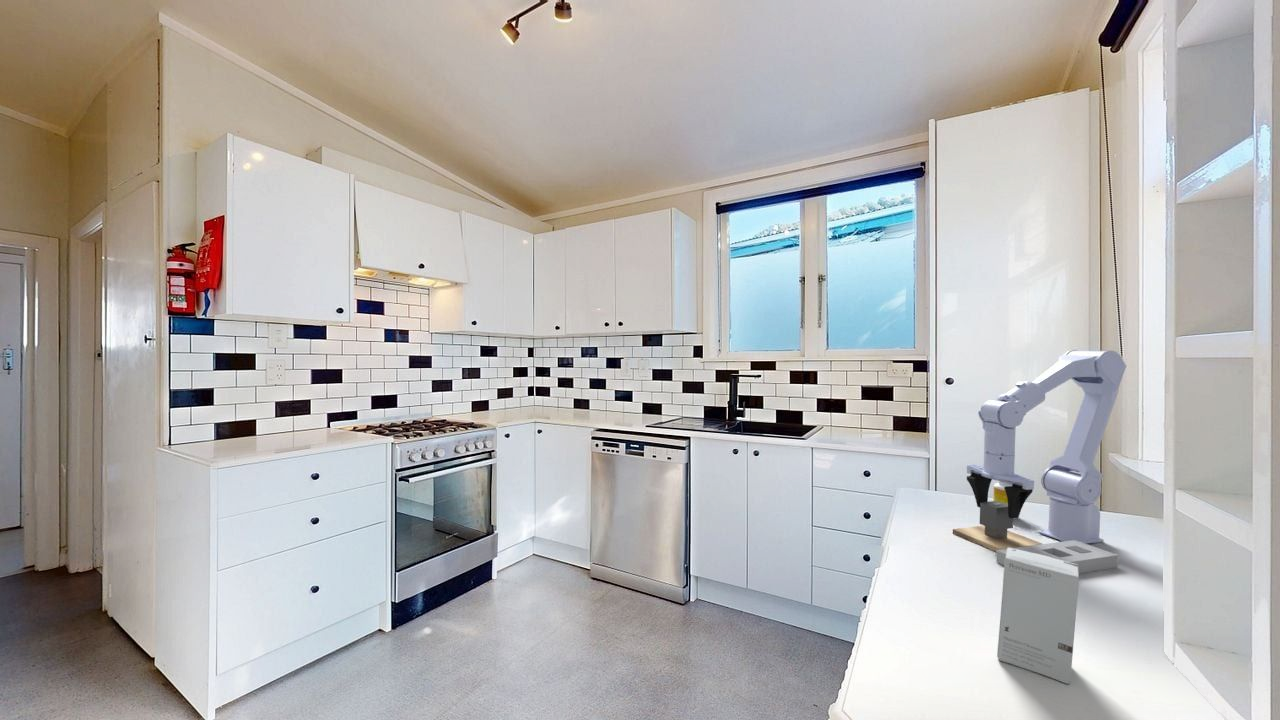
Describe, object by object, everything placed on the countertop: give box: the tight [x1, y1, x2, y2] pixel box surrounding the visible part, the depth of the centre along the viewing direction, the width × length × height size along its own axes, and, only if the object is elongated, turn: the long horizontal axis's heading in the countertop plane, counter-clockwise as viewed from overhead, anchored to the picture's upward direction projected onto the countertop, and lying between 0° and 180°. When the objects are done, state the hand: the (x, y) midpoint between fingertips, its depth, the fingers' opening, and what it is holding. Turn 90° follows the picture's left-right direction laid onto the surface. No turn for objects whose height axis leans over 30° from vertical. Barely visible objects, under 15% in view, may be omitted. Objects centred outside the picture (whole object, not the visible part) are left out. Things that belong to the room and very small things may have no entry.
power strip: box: [995, 540, 1119, 574], centre depth 103 cm, size 22×8×3 cm, turn 106°
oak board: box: [952, 525, 1043, 553], centre depth 116 cm, size 12×12×1 cm
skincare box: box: [996, 548, 1080, 685], centre depth 71 cm, size 8×6×15 cm
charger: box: [979, 500, 1014, 539], centre depth 115 cm, size 5×4×8 cm
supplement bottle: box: [992, 481, 1018, 520], centre depth 132 cm, size 6×6×10 cm
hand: (997, 512), depth 115 cm, fingers open, 7 cm apart
